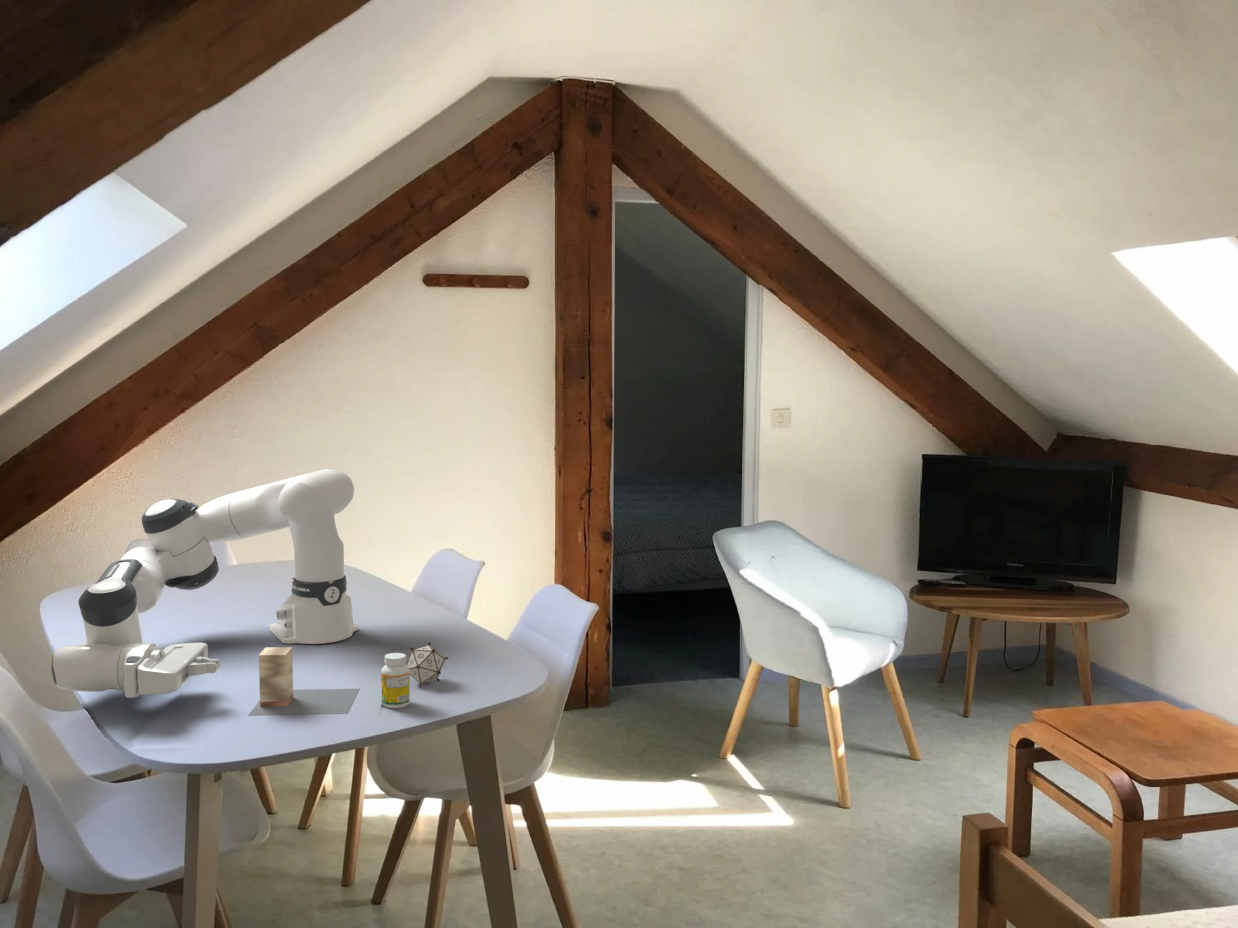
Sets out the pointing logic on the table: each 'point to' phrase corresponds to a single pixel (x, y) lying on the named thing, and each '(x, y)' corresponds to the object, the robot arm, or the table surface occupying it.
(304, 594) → the robot arm
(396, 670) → the supplement bottle
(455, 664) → the table surface
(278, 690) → the birch block
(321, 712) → the rubber mat
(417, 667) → the game die
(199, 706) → the table surface
